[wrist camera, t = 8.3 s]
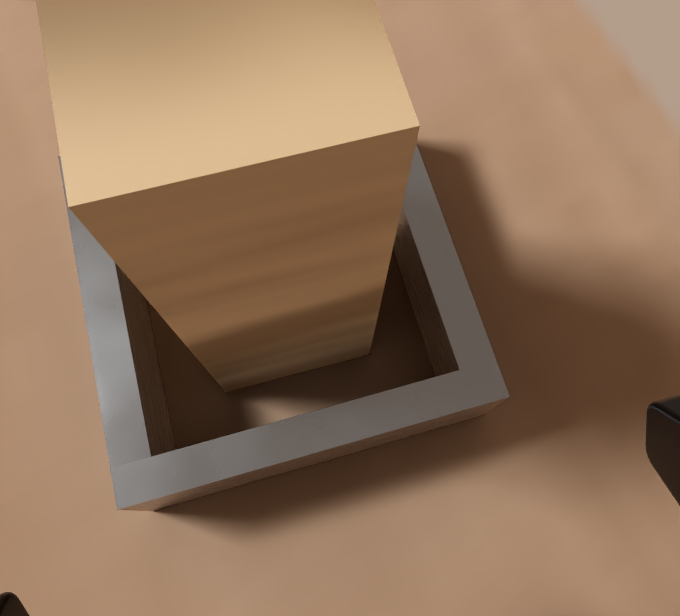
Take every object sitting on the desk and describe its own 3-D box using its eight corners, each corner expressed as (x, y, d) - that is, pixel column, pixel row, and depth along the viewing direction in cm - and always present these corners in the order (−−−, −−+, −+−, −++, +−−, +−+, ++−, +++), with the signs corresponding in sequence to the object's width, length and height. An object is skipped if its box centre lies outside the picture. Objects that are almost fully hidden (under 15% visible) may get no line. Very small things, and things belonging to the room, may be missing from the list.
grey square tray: (483, 415, 19) (510, 396, 16) (151, 511, 18) (116, 510, 15) (384, 135, 22) (392, 78, 19) (95, 205, 21) (58, 156, 18)
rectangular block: (369, 354, 20) (420, 125, 8) (225, 392, 19) (68, 206, 8) (331, 225, 21) (329, -124, 10) (196, 258, 21) (25, -67, 9)
